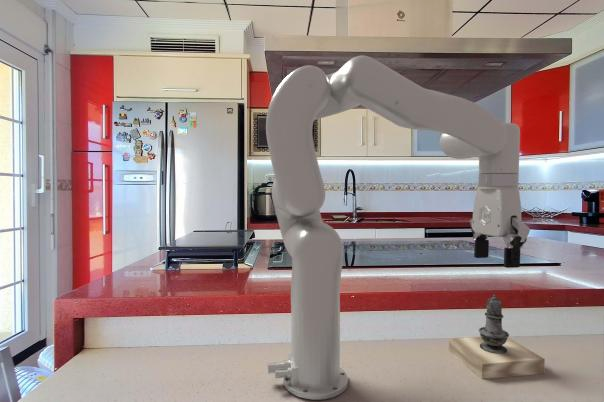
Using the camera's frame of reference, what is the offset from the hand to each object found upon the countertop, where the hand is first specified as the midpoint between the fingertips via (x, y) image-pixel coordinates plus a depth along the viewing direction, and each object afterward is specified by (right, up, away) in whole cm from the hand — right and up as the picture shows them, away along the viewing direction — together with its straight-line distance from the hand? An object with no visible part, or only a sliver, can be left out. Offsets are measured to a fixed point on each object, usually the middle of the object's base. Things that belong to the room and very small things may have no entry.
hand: (495, 262), depth 79 cm
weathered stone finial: (0, -19, +1) cm, 19 cm away
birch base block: (0, -22, +1) cm, 22 cm away
